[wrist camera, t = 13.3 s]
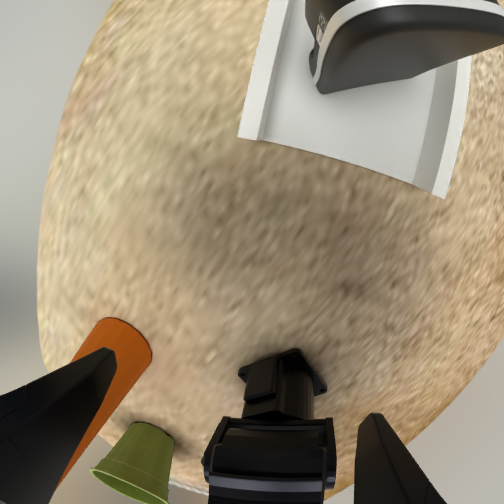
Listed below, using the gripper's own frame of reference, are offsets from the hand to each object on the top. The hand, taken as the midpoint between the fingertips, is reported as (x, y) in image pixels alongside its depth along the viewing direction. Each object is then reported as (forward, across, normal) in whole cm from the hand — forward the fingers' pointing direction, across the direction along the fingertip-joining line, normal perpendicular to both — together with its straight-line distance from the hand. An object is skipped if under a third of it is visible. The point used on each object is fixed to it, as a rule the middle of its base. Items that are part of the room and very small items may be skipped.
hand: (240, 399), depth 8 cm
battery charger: (+12, -2, -14) cm, 19 cm away
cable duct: (+13, -3, -14) cm, 19 cm away
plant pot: (+13, +10, +34) cm, 38 cm away
